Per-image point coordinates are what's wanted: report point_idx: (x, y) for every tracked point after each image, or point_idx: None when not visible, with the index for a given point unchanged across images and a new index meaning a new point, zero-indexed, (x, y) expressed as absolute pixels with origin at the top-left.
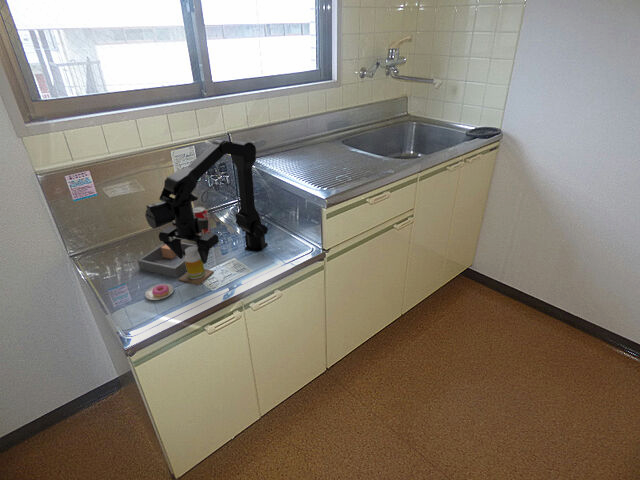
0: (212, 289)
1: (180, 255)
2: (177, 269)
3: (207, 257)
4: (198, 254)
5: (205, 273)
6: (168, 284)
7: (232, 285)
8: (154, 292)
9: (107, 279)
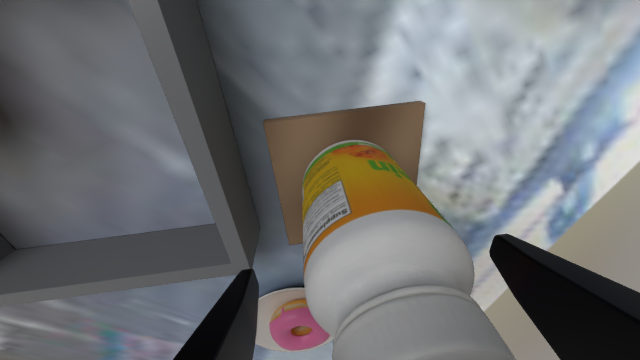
0: (482, 217)
1: (253, 317)
2: (250, 246)
3: (572, 266)
4: (459, 283)
5: (390, 150)
6: (288, 289)
7: (572, 155)
8: (300, 349)
9: (15, 346)
